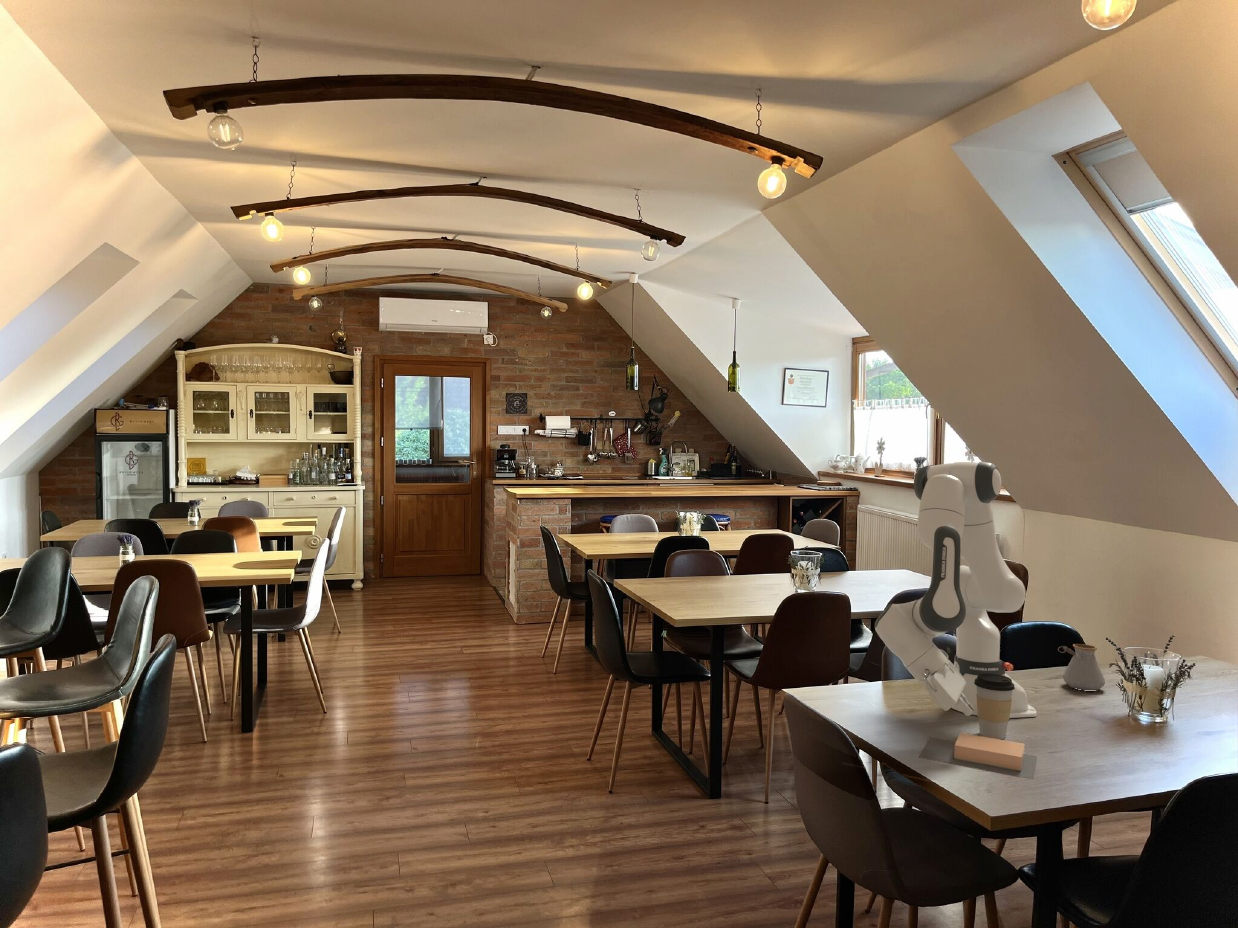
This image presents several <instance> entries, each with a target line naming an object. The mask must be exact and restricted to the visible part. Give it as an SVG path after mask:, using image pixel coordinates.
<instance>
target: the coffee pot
mask: <svg viewBox="0 0 1238 928" xmlns="http://www.w3.org/2000/svg"><path fill="white" fill-rule="evenodd" d="M1072 646H1073V648H1074V650H1075V651H1073V650H1072V649H1071V648H1068V646H1065V645H1061V646H1059V647H1058V648H1057V651H1058V652H1060V653H1061V654H1062V653H1063V654H1064V653H1066V652H1067V653H1068V654H1070V655H1072V657H1071V660H1070V662H1069V663H1068V665H1067V667H1066V669H1065V670H1064V672H1063V674H1062V679H1063V681H1064V682H1065V683H1066V685H1068V687H1069V686H1070V687H1073V688H1077V689H1081V690H1100V689H1102V688H1103V687H1104V686H1105V684H1106V679H1105V677H1104V674H1103V672H1102V670H1101V667H1100V665H1099V662H1098V660H1097V658H1096V655H1095V653H1096V650H1097V649H1098V647H1097V646H1095V645H1092V644H1091V645H1090V644H1086V643H1085V644H1083V643H1072ZM1060 648H1062V649H1063V651H1060V650H1059V649H1060ZM1070 687H1069V688H1070Z"/></svg>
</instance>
